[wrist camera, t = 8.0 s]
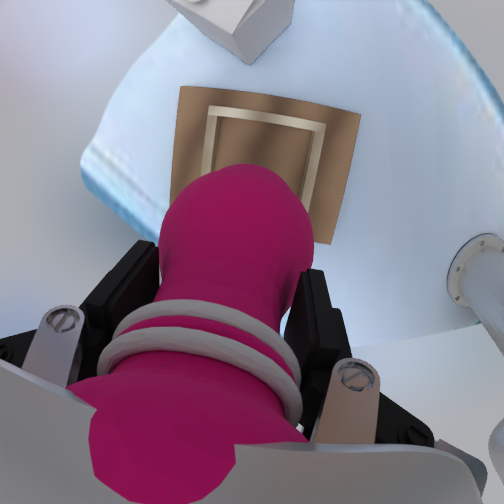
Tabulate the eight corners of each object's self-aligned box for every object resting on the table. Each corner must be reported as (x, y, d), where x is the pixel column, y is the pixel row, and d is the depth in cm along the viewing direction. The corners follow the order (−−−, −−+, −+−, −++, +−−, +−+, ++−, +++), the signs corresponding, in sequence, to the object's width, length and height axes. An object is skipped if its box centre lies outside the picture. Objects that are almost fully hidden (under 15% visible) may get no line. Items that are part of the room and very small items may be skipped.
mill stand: (358, 114, 30) (366, 115, 27) (328, 240, 37) (333, 252, 34) (183, 86, 30) (174, 84, 27) (171, 214, 37) (163, 224, 34)
